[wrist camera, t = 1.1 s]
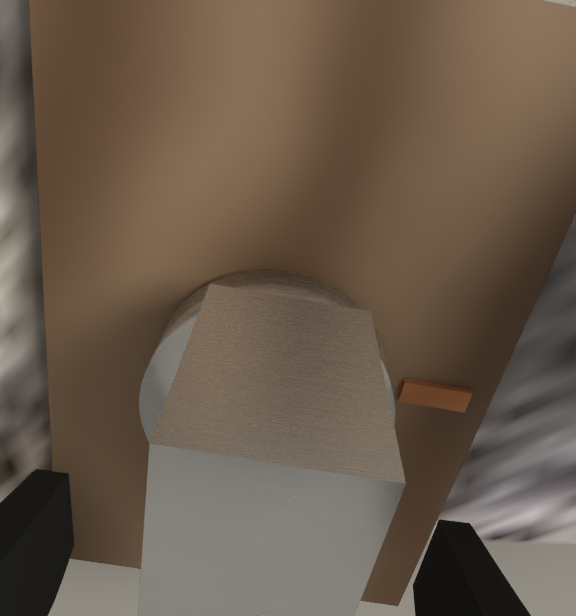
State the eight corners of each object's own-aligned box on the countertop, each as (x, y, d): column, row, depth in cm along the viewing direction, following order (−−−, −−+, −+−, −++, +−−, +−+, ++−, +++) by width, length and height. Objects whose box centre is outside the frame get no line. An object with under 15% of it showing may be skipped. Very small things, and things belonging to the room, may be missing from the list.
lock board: (623, 24, 12) (665, 25, 11) (392, 570, 22) (398, 611, 20) (55, -94, 12) (18, -109, 10) (72, 522, 21) (54, 561, 20)
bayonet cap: (416, 282, 14) (504, 504, 8) (353, 478, 17) (377, 743, 11) (167, 239, 13) (43, 433, 7) (152, 446, 17) (58, 701, 11)
